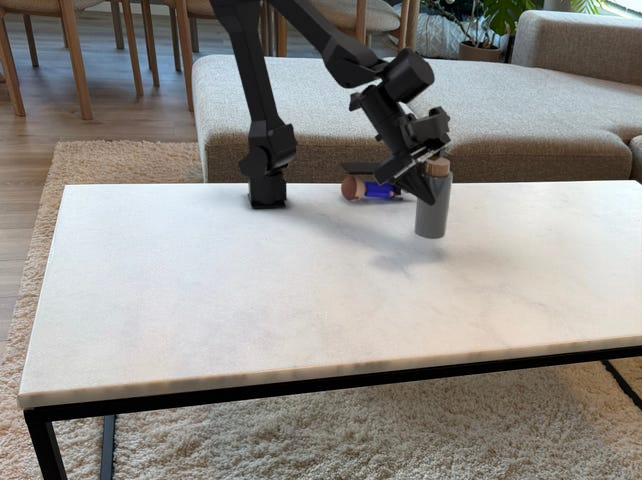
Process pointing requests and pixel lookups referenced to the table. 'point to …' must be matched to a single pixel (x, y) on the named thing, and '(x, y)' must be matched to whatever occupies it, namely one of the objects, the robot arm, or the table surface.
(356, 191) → the figurine character
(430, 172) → the pepper mill
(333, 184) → the table surface
